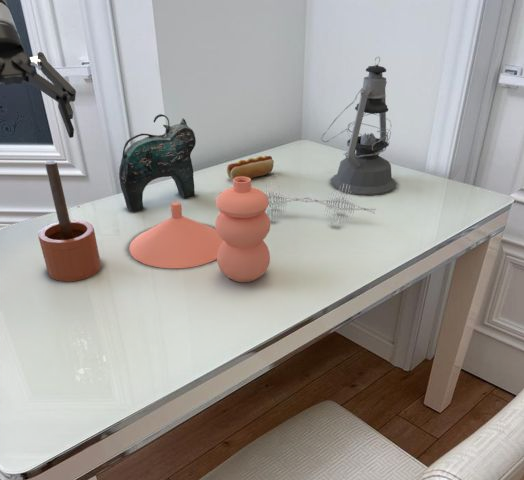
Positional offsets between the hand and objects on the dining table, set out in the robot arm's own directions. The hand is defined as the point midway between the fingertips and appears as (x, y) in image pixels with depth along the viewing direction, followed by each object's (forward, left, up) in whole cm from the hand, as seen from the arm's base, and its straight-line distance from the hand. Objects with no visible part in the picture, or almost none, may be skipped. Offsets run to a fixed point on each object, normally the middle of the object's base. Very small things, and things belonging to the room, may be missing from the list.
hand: (34, 139), depth 102 cm
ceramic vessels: (+30, +2, -22) cm, 37 cm away
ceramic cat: (+13, +28, -23) cm, 39 cm away
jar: (+7, -8, -22) cm, 24 cm away
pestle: (+7, -7, -22) cm, 24 cm away
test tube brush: (+49, +25, -23) cm, 59 cm away
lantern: (+60, +50, -22) cm, 81 cm away
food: (+31, +49, -23) cm, 62 cm away
